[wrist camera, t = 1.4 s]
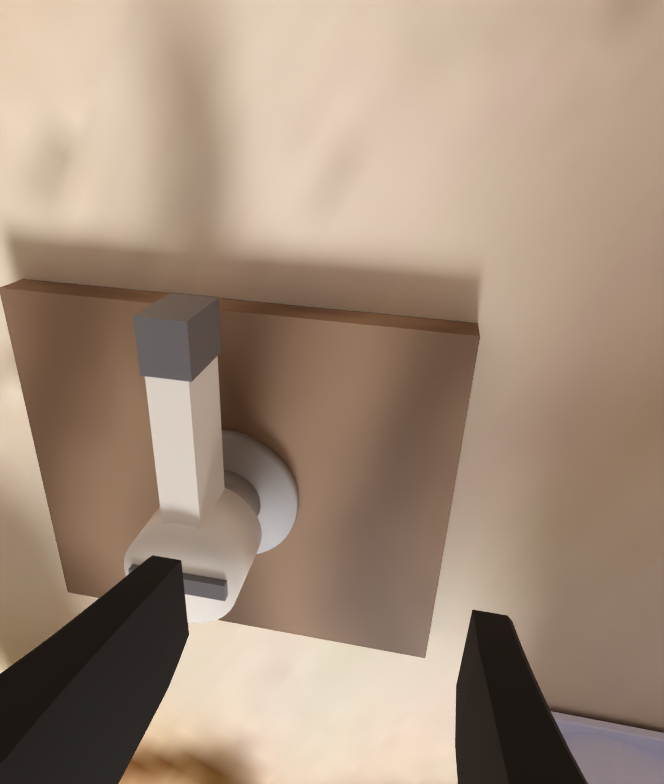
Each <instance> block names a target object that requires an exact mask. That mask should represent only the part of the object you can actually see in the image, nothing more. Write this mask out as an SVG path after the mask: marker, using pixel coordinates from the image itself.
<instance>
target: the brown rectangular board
mask: <svg viewBox="0 0 664 784" xmlns="http://www.w3.org/2000/svg"><path fill="white" fill-rule="evenodd" d="M168 294H169V293H159V292H149V291H138V290H128V289H118V288H107V287H97V286H87V285H76V284H66V283H56V282H46V281H35V280H25V279H22V280H19V281H17V282H14V283H11V284H8V285H6V286H3V287H0V295H1V299H2V304H3V308H4V313H5V317H6V321H7V326H8V330H9V335H10V339H11V343H12V348H13V352H14V357H15V361H16V365H17V370H18V374H19V379H20V383H21V388H22V392H23V396H24V401H25V405H26V410H27V414H28V418H29V423H30V427H31V432H32V436H33V440H34V445H35V449H36V454H37V458H38V462H39V467H40V471H41V476H42V480H43V484H44V489H45V493H46V498H47V502H48V507H49V511H50V515H51V520H52V524H53V529H54V533H55V537H56V542H57V546H58V551H59V555H60V559H61V564H62V568H63V573H64V577H65V581H66V586H67V590H68V592H70V593H75V594H81V595H86V596H92V597H97V598H100V597H101V596H103V595H104V594H105V593H106V592H107V591H109V590H110V589H111V588H112V587H114V586H115V585H116V584H117V583H118V582H120V581H121V580H122V579H123V578H124V577H126V575H125V570H124V558H125V554H126V552H127V550H128V548H129V546H130V545H131V544H132V542H133V541H134V540H135V538H136V537H137V536H138V534H139V533H140V532H141V530H142V529H143V528H144V526H145V525H146V524H147V522H148V521H149V520H150V518H151V517H152V516H153V514H154V513H155V512H156V510H157V509H158V508H159V506H160V502H159V494H158V485H157V477H156V468H155V459H154V451H153V442H152V434H151V425H150V417H149V408H148V400H147V391H146V382H145V376H140V371H139V363H138V354H137V346H136V338H135V329H134V321H133V316H134V315H135V314H137V313H139V312H140V311H142V310H144V309H145V308H147V307H148V306H150V305H152V304H153V303H155V302H157V301H158V300H160V299H162V298H163V297H165V296H166V295H168ZM219 314H220V334H221V353H220V354H219V355H218V373H219V392H220V411H221V430H222V450H223V469H224V487H225V488H227V489H229V490H231V491H233V492H234V493H236V494H237V495H239V496H240V497H241V498H243V499H244V500H245V501H246V502H247V503H248V504H249V505H250V506H251V508H252V509H253V511H254V512H255V514H256V515H257V517H258V520H259V522H260V525H261V530H262V540H261V544H260V547H259V549H258V551H257V554H256V556H255V558H254V560H253V563H252V565H251V567H250V570H249V572H248V574H247V576H246V579H245V581H244V583H243V585H242V588H241V590H240V592H239V595H238V597H237V599H236V601H235V604H234V606H233V607H232V609H231V610H230V611H229V612H228V613H227V614H226V615H225V616H223V617H222V618H220V619H218V620H222V621H227V622H233V623H238V624H243V625H249V626H254V627H260V628H265V629H270V630H276V631H281V632H287V633H292V634H298V635H303V636H308V637H314V638H319V639H325V640H330V641H335V642H341V643H346V644H352V645H357V646H363V647H368V648H373V649H379V650H384V651H390V652H395V653H400V654H406V655H411V656H417V657H422V658H425V656H426V650H427V645H428V639H429V633H430V627H431V621H432V615H433V609H434V603H435V597H436V592H437V586H438V580H439V574H440V568H441V562H442V556H443V550H444V545H445V539H446V533H447V527H448V521H449V515H450V509H451V503H452V497H453V492H454V486H455V480H456V474H457V468H458V462H459V456H460V450H461V445H462V439H463V433H464V427H465V421H466V415H467V409H468V403H469V397H470V392H471V386H472V380H473V374H474V368H475V362H476V356H477V350H478V345H479V339H480V334H479V328H478V323H468V322H457V321H447V320H437V319H426V318H416V317H406V316H395V315H385V314H375V313H365V312H354V311H344V310H334V309H323V308H313V307H303V306H293V305H282V304H272V303H262V302H251V301H241V300H231V299H221V298H219Z"/></svg>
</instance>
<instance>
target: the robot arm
mask: <svg viewBox="0 0 664 784" xmlns="http://www.w3.org/2000/svg"><path fill="white" fill-rule="evenodd" d="M188 636H189V631H188V621H187V611H186V601H185V591H184V581H183V572H182V562H181V560H177V559H171V558H166V557H160V556H154V555H152V556H151V557H149V558H148V559H147V560H145V561H144V562H143V563H142V564H140V565H139V566H138V567H137V568H135V569H134V570H133V571H132V572H130V573H129V574H128V575H127V576H126V577H124V578H123V579H122V580H121V581H120V582H118V583H117V584H116V585H115V586H114V587H112V588H111V589H110V590H109V591H107V592H106V593H105V594H104V595H103V596H101V597H100V598H99V599H98V600H96V601H95V602H94V603H93V604H92V605H90V606H89V607H88V608H87V609H85V610H84V611H83V612H82V613H80V614H79V615H78V616H76V617H75V618H74V619H73V620H71V621H70V622H69V623H68V624H66V625H65V626H64V627H63V628H61V629H60V630H59V631H57V632H56V633H55V634H54V635H52V636H51V637H50V638H48V639H47V640H46V641H44V642H43V643H42V644H41V645H39V646H38V647H36V648H35V649H34V650H32V651H31V652H30V653H28V654H27V655H25V656H24V657H23V658H21V659H20V660H19V661H17V662H16V663H14V664H13V665H12V666H10V667H9V668H8V669H6V670H5V671H4V672H2V673H1V674H0V784H118V783H119V781H120V780H121V778H122V776H123V774H124V772H125V770H126V768H127V766H128V764H129V762H130V761H131V759H132V757H133V755H134V753H135V751H136V749H137V747H138V745H139V743H140V741H141V740H142V738H143V736H144V734H145V732H146V730H147V728H148V726H149V724H150V722H151V720H152V718H153V716H154V715H155V713H156V711H157V709H158V707H159V705H160V703H161V701H162V699H163V697H164V695H165V693H166V691H167V689H168V687H169V685H170V682H171V680H172V677H173V675H174V672H175V670H176V667H177V665H178V662H179V660H180V657H181V654H182V652H183V649H184V646H185V644H186V641H187V638H188ZM455 748H456V762H457V775H458V784H664V733H662V732H657V731H652V730H647V729H641V728H636V727H631V726H626V725H621V724H615V723H610V722H605V721H600V720H595V719H589V718H584V717H579V716H574V715H568V714H563V713H558V712H553V711H550V709H549V707H548V705H547V703H546V701H545V698H544V696H543V694H542V692H541V690H540V688H539V685H538V683H537V681H536V679H535V676H534V674H533V672H532V670H531V667H530V665H529V663H528V660H527V658H526V656H525V653H524V651H523V648H522V646H521V643H520V641H519V638H518V636H517V633H516V630H515V627H514V625H513V622H512V620H511V619H510V618H509V617H508V616H507V615H501V614H495V613H489V612H483V611H477V610H472V615H471V619H470V624H469V629H468V634H467V638H466V643H465V648H464V652H463V657H462V662H461V666H460V671H459V676H458V680H457V685H456V735H455Z"/></svg>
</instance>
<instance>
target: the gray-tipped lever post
mask: <svg viewBox="0 0 664 784" xmlns="http://www.w3.org/2000/svg"><path fill="white" fill-rule="evenodd" d="M133 321H134V329H135V338H136V346H137V354H138V363H139V371H140V376H145V382H146V391H147V400H148V408H149V417H150V425H151V434H152V442H153V451H154V459H155V468H156V477H157V485H158V494H159V502H160V506H159V508H158V509H157V510H156V512H155V513H154V514H153V516H152V517H151V518H150V520H149V521H148V522H147V524H146V525H145V526H144V528H143V529H142V530H141V532H140V533H139V534H138V536H137V537H136V538H135V540H134V541H133V542H132V544H131V545H130V546H129V548H128V550H127V552H126V554H125V558H124V570H125V575H126V576H127V575H128V574H129V573H130V572H132V571H133V570H134V569H135V568H137V567H138V566H139V565H140V564H142V563H143V562H144V561H145V560H147V559H148V558H149V557H151V556H152V555H154V556H160V557H166V558H171V559H177V560H181V562H182V572H183V581H184V591H185V601H186V611H187V621H188V623H207V622H212V621H215V620H218V619H220V618H222V617H223V616H225V615H226V614H227V613H228V612H229V611H230V610H231V609H232V607H233V606H234V604H235V601H236V599H237V597H238V595H239V592H240V590H241V588H242V585H243V583H244V581H245V579H246V576H247V574H248V572H249V570H250V567H251V565H252V563H253V560H254V558H255V556H256V554H257V551H258V549H259V547H260V544H261V540H262V530H261V525H260V522H259V520H258V517H257V515H256V514H255V512H254V511H253V509H252V508H251V506H250V505H249V504H248V503H247V502H246V501H245V500H244V499H243V498H241V497H240V496H239V495H237V494H236V493H234V492H233V491H231V490H229V489H227V488H225V487H224V469H223V450H222V430H221V411H220V392H219V373H218V355H219V354H220V353H221V334H220V314H219V298H218V297H207V296H197V295H187V294H176V293H170V294H168V295H166V296H165V297H163V298H162V299H160V300H158V301H157V302H155V303H153V304H152V305H150V306H148V307H147V308H145V309H144V310H142V311H140V312H139V313H137V314H135V315H134V316H133Z"/></svg>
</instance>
